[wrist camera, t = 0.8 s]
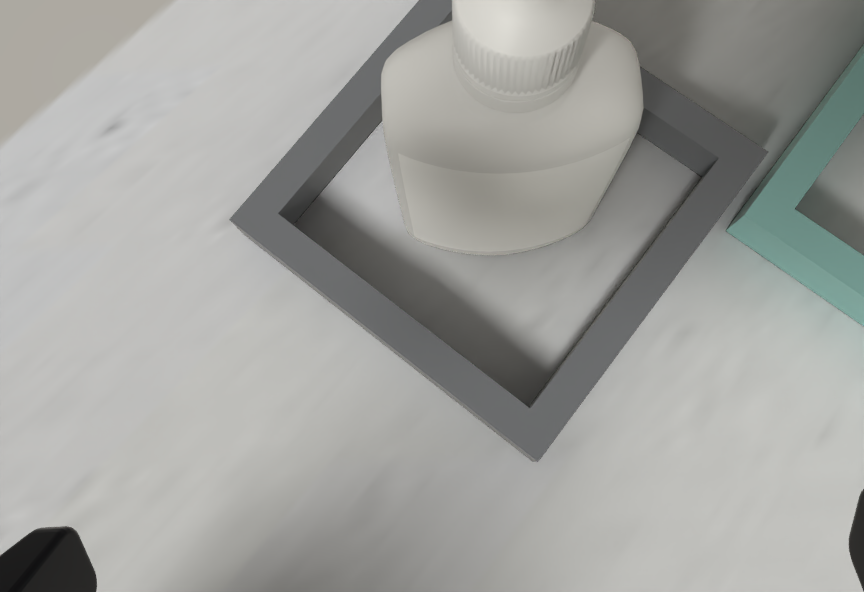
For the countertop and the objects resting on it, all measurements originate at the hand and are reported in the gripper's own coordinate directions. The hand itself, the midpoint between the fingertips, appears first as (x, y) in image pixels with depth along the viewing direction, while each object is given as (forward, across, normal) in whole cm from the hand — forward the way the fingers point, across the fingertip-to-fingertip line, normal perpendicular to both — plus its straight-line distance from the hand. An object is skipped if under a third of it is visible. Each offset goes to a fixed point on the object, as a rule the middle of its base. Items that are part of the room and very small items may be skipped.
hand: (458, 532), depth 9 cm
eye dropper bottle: (+15, -1, +2) cm, 16 cm away
